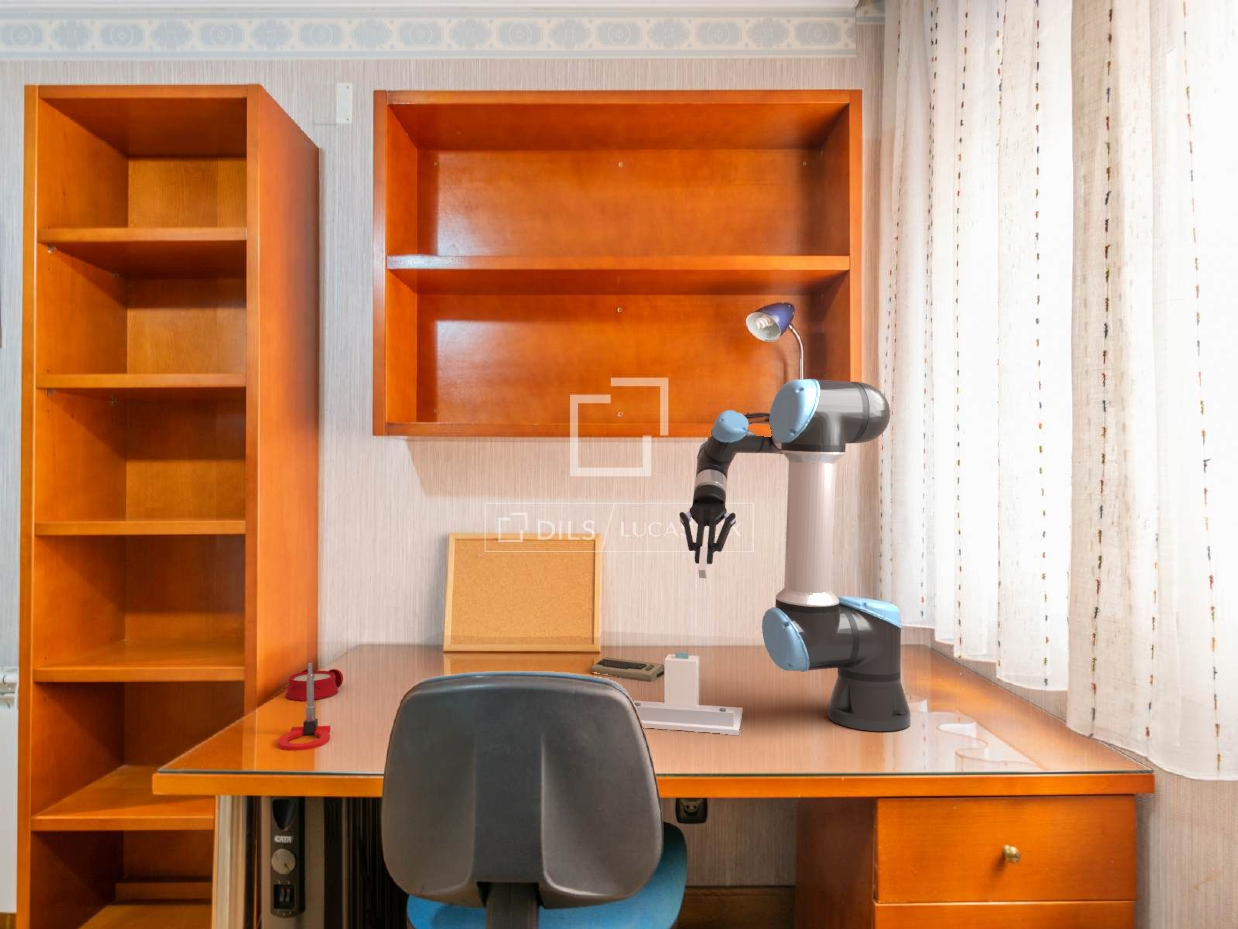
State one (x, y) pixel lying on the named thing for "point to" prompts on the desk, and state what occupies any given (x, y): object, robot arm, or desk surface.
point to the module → (681, 680)
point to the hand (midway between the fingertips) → (702, 574)
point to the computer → (629, 669)
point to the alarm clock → (322, 684)
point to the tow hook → (307, 723)
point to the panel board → (699, 727)
